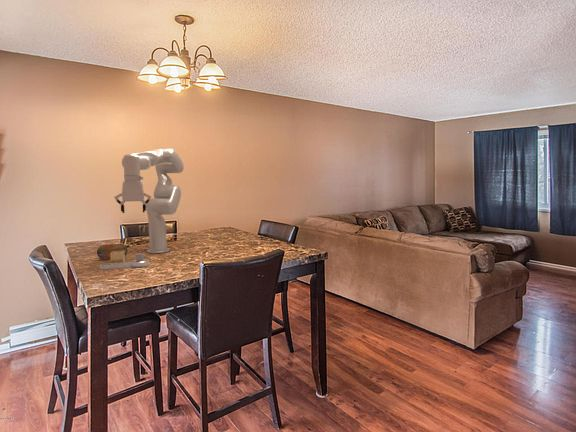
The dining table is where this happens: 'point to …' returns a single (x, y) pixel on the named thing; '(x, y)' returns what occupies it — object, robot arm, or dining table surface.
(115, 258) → the tan wooden cube
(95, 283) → the dining table surface
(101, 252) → the tin
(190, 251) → the dining table surface
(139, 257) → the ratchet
